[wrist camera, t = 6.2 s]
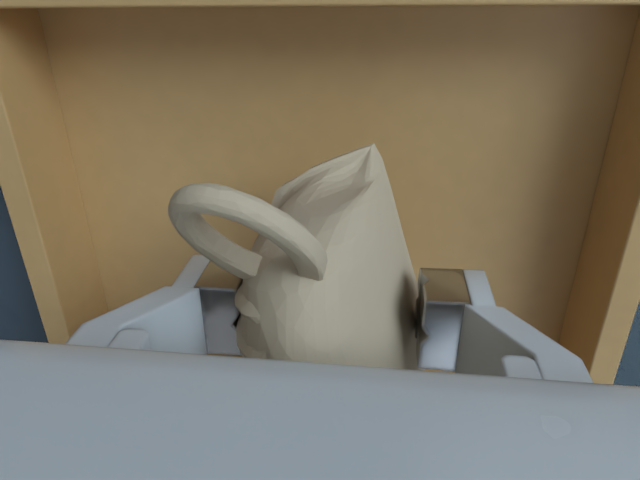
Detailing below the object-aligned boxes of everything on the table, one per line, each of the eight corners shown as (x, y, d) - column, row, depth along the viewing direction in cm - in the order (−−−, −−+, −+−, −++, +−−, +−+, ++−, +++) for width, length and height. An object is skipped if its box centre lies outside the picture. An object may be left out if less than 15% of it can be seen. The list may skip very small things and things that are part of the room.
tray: (678, -38, 13) (748, -39, 11) (561, 403, 20) (588, 465, 17) (8, -30, 15) (-67, -29, 12) (109, 376, 21) (74, 429, 19)
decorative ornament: (303, 382, 17) (278, 548, 12) (208, 124, 13) (118, 209, 8) (434, 360, 16) (464, 527, 11) (369, 80, 12) (372, 146, 8)
